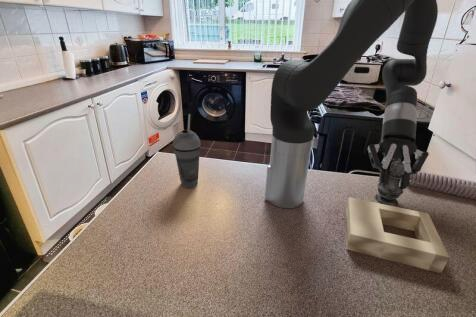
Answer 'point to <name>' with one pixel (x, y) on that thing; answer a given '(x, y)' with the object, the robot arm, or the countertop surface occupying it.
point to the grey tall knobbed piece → (391, 185)
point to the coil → (443, 184)
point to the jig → (390, 245)
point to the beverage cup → (187, 156)
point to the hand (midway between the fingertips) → (393, 186)
